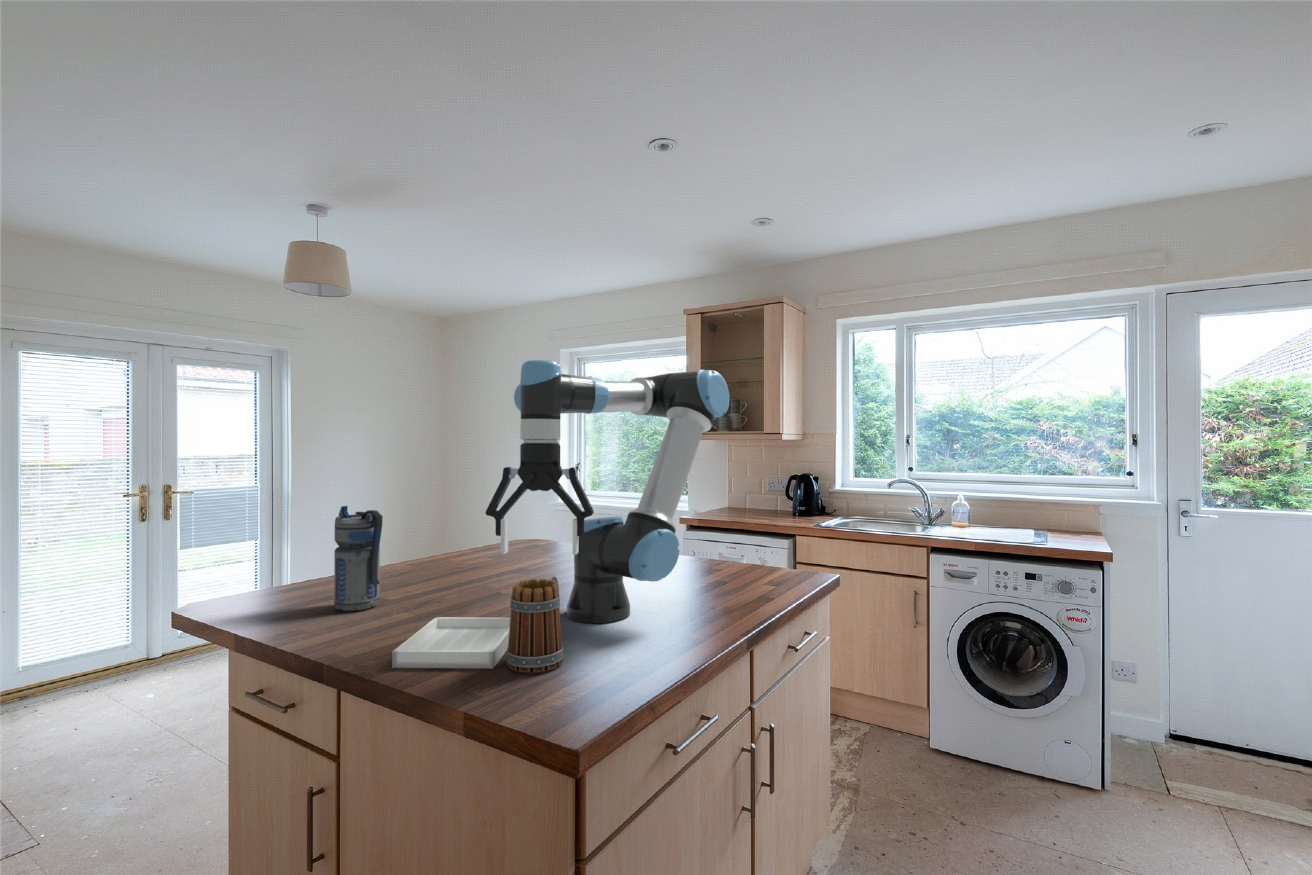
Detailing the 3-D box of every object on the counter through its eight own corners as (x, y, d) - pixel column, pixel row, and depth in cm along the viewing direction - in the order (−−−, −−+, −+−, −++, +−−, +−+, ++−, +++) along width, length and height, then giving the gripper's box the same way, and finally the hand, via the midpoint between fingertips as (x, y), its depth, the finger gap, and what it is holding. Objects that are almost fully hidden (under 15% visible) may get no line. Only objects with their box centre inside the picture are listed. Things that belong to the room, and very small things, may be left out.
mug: (551, 677, 108) (551, 592, 108) (496, 672, 110) (496, 589, 111) (580, 647, 124) (580, 573, 124) (530, 644, 126) (531, 570, 126)
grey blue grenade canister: (362, 615, 145) (363, 510, 145) (322, 609, 150) (322, 507, 150) (395, 605, 155) (396, 506, 155) (357, 599, 160) (357, 503, 160)
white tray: (520, 631, 134) (520, 617, 134) (493, 668, 112) (493, 651, 112) (435, 630, 134) (435, 617, 134) (392, 667, 113) (392, 651, 113)
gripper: (607, 442, 121) (607, 550, 121) (481, 441, 121) (480, 549, 121) (603, 442, 113) (603, 557, 113) (469, 441, 114) (468, 556, 113)
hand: (539, 553), depth 117 cm, fingers open, 13 cm apart
